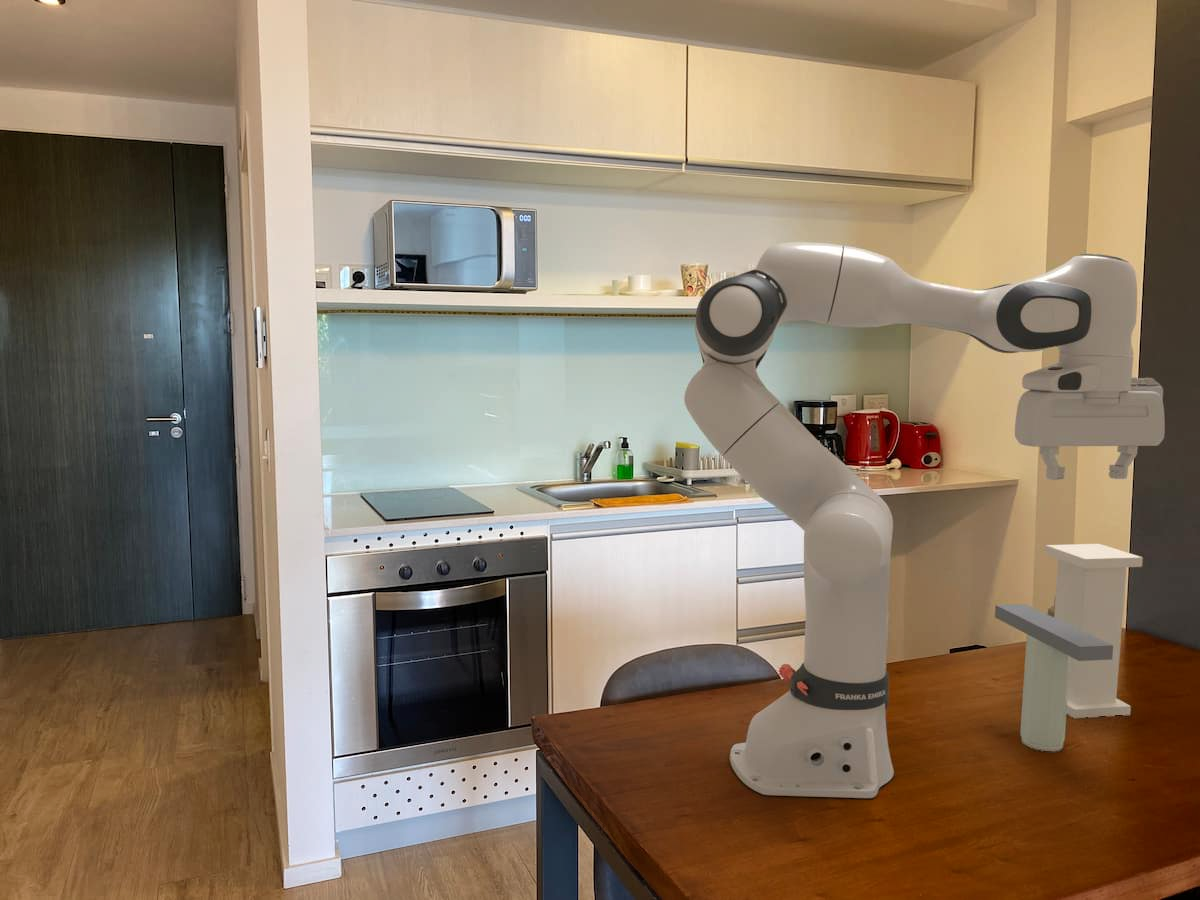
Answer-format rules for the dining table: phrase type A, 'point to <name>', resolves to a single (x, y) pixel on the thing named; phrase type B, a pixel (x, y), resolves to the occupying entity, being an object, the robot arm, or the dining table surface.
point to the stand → (1093, 620)
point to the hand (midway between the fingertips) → (1086, 478)
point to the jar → (1044, 696)
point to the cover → (1054, 632)
